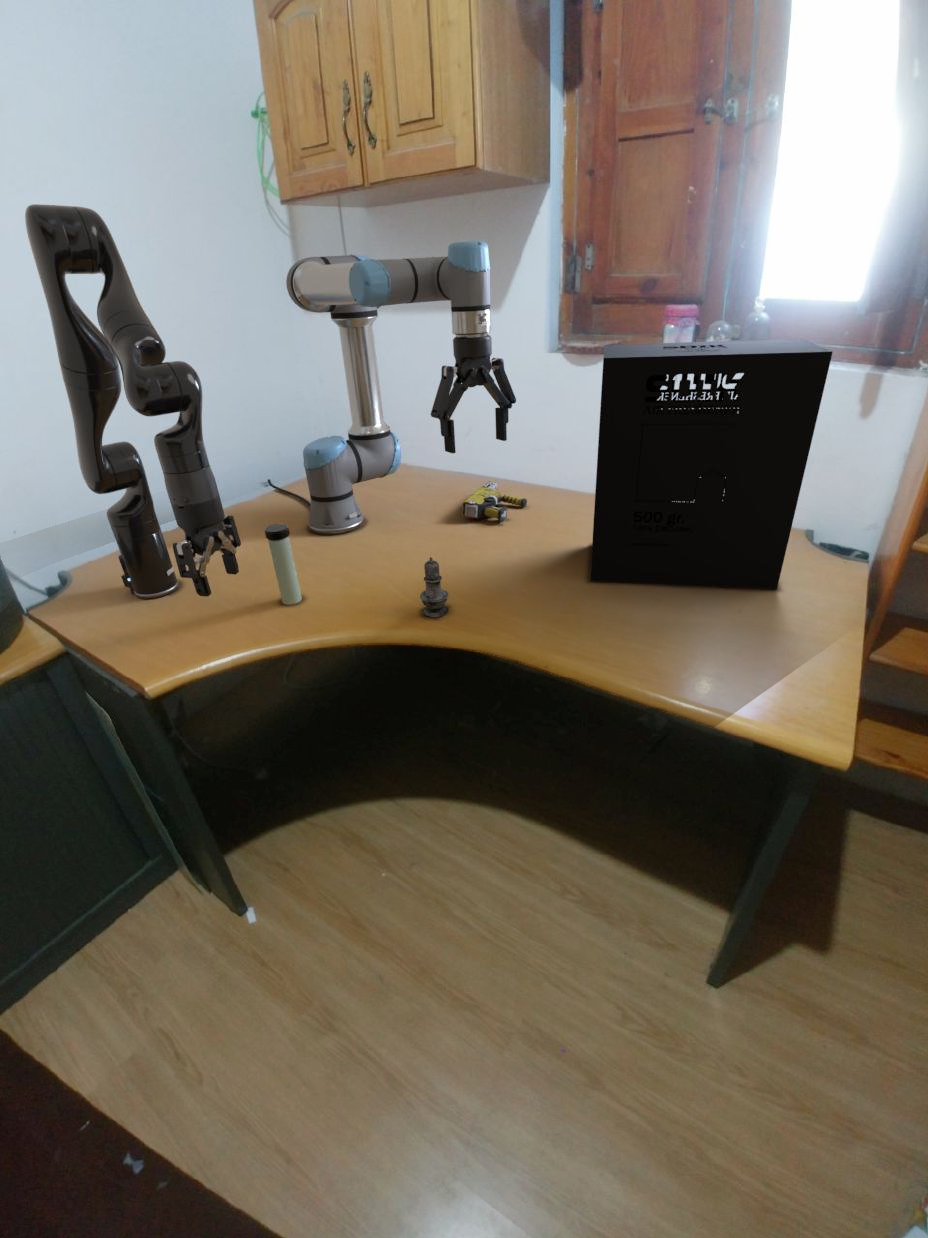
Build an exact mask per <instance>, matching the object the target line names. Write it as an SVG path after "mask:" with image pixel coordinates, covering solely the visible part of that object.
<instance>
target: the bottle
mask: <svg viewBox="0 0 928 1238" xmlns="http://www.w3.org/2000/svg"><path fill="white" fill-rule="evenodd" d="M267 543H268V545H269V550H270V555H271V560H272V563H273V568H274V572H275V577H276V580H277V584H278V589H279V593H280V598H281V602H282V604H283V605H287V606H291V605H296V604H298V603H300V602H301V601H302V600H303V599H302V598H303V597H302V592H301V588H300V583H299V579H298V574H297V568H296V564H295V560H294V555H293V554H294V553H293V550H292V546H291V541H290V535H289V536H288V537H286V538H284V539H280V540H268V539H267Z"/></svg>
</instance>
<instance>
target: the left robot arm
mask: <svg viewBox="0 0 928 1238" xmlns="http://www.w3.org/2000/svg"><path fill="white" fill-rule="evenodd" d="M24 213H25V214H24V220H25V228H26V229H25V230H26V234H27V238H28V242H29V245H30V249H31V253H32V256H33V259H34V263H35V266H36V270H37V273H38V276H39V280H40V284H41V287H42V290H43V294H44V297H45V300H46V304H47V308H48V313H49V316H50V322H51V327H52V331H53V336H54V341H55V347H56V352H57V358H58V362H59V366H60V367H59V368H60V371H61V375H62V380H63V383H64V387H65V391H66V395H67V399H68V403H69V408H70V411H71V416H72V422H73V429H74V436H75V443H76V451H77V457H78V464H79V470H80V473H81V475H82V478H83V480H84V483H85V484H86V486H87V487H88V488H89V490H90V491H91V492H93V493H95V494H96V495H97V494H98V495H105V494H110V493H111V494H112V493H114V492H118V491H122V490H125V492H124V494H123V495H122V496H121V498H120V499H119V500H118V501H117V502H115V503H114V504H112V505H111V506H110V507H108V508H107V511H106V518H107V520H108V524H109V525H110V528H111V532H112V534H113V536H114V539H115V542H116V544H117V547H118V551H119V553H120V554H119V555H118V561H119V563H120V567H121V569H122V571H123V574H122V575H120V577H121V580H122V582H123V586H124V587H125V588H129V590H130V594H131V595H134V596H135V597H136V598H138V599H143V600H148V599H149V600H150V599H157V598H161V597H164V596H167V595H170V594H171V593H173V592H175V591H177V589H178V588H179V586H180V582H179V580H178V578H177V575H176V572H175V568H174V565H173V563H172V562H173V561H172V559H171V556H170V553H169V549H168V547H167V544H166V540H165V538H164V534H163V532H162V528H161V526H160V522H159V519H158V517H157V516H158V515H157V513H156V510H155V505H154V500H153V496H152V493H151V489H150V486H149V481H148V477H147V474H146V469H145V466H144V463H143V460H142V457H141V455H140V453H139V451H138V450H137V448H136V447H135V446H134V445H133V444H132V443H131V442H129V441H125V440H124V441H123V440H122V441H116V442H111V443H107V444H103V437H104V432H105V428H106V426H107V423H108V422H109V420H110V418H111V416H112V414H113V412H114V410H115V409H116V406H117V404H118V402H119V399H120V397H121V393H122V382H123V388H124V393H125V398H126V399H127V402H128V405H130V408H132V409H133V410H134V411H135V412H137V413H138V414H140V415H142V416H145V417H157V416H158V417H159V416H163V415H169V414H174V413H178V418H177V420H176V423H175V424H173V425H172V426H169V427H168V428H166V429H163V430H161V431H159V432H158V433H156V434H155V436H154V438H153V443H154V447H155V451H156V454H157V457H158V461H159V464H160V467H161V471H162V474H163V479H164V485H165V490H166V493H167V496H168V499H169V502H170V506H171V509H172V513H173V515H174V519H175V522H176V525H177V526H178V527H179V528H180V529H181V530H182V531H183V532H184V540H183V541H181V542H173V543H172V550H173V555H174V558H175V562H176V565H177V570H178V573H179V576H180V578H181V579H191V580H192V583H193V587H194V589H195V592H196V594H197V595H198V596H200V597H206V598H207V597H210V596H211V595H212V589H211V586H210V583H209V582H210V581H209V580H208V576H207V574H206V571H207V565H209V563H210V562H211V556H213V555H214V554H215V553H216V552H220V553H221V558H222V562H223V565H224V570H225V572H226V574H228V575H237V574H238V573H239V572H240V570H239V564H238V560H237V556H236V554H237V548H239V547H241V545H242V541H241V538H240V534H239V531H238V527H237V525H236V521H235V519H234V516H233V515H227V514H225V512H224V507H223V504H222V500H221V499H222V498H221V496H220V492H219V489H218V485H217V482H216V477H215V475H214V472H213V470H212V468H211V465H210V461H209V457H208V454H207V450H206V446H205V442H204V434H203V399H204V398H203V385H202V381H201V378H200V376H199V375H198V372H197V371H196V370H195V368H193V366H192V365H190V364H189V363H188V362H186V361H184V360H183V361H182V360H173V361H172V360H171V361H166V362H164V361H165V359H166V355H167V352H166V351H167V350H166V345H165V344H164V341H163V339H162V338H161V336H160V334H159V333H158V331H157V329H156V328H155V326H154V324H153V322H152V321H151V320H150V318H149V317H148V315H147V313H146V311H145V309H144V308H143V306H142V305H141V302H140V300H139V298H138V295H137V293H136V290H135V288H134V286H133V283H132V281H131V278H130V276H129V273H128V271H127V268H126V266H125V263H124V261H123V259H122V256H121V254H120V252H119V249H118V247H117V245H116V242H115V239H114V238H113V235H112V233H111V231H110V228H109V227H108V225H107V224H106V221H104V219H103V218H102V216H101V215H100V214H99V213H98V212H97V211H96V210H94V209H92V208H89V207H84V206H77V205H75V206H74V205H61V204H60V205H59V204H30V205H28V206H27V207H26V208H25V212H24ZM98 274H101V275H102V276H103V277H104V282H103V286H102V289H101V291H100V295H99V298H98V302H97V306H96V317H97V322H98V325H99V328H100V329H99V328H98V327H97V325H96V324H95V323H94V322H93V321H92V320H91V319H90V318H89V317H88V315H87V314H86V313H85V312H84V311H83V310H82V308H81V307H80V306H79V304H78V303H77V301H76V300H75V299H74V297H73V295H72V294H71V292H70V290H69V287H68V284H67V280H66V275H98ZM120 370H121V371H120ZM231 536H232V539H231ZM196 555H198V556H201V557H196ZM197 565H198V569H197ZM186 566H187V567H186ZM187 568H188V569H187Z"/></svg>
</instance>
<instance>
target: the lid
mask: <svg viewBox="0 0 928 1238" xmlns="http://www.w3.org/2000/svg"><path fill="white" fill-rule="evenodd" d="M264 535H265V539H267V541H268V540H280V539H284V538H286V537H288V536H289V537H290V529H289V525H287V524H286V523H274V524H271V525H268V526H266V527H265V528H264Z"/></svg>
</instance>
